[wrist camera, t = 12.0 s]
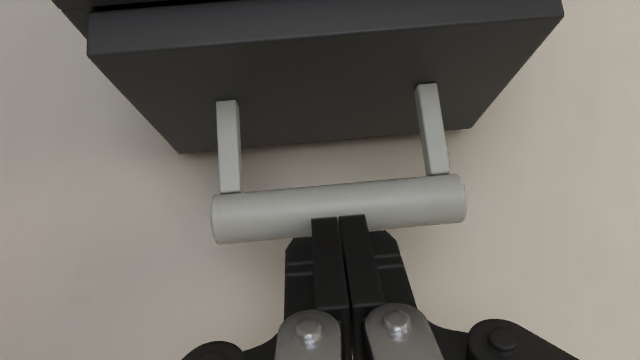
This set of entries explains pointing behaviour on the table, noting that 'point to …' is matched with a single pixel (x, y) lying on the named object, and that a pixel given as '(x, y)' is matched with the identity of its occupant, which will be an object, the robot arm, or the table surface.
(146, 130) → the table surface
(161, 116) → the drawer
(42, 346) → the table surface
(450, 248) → the table surface
